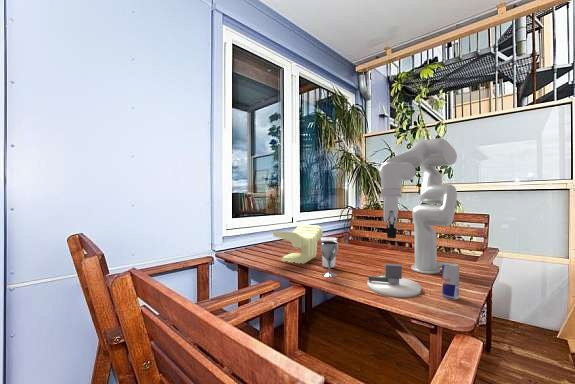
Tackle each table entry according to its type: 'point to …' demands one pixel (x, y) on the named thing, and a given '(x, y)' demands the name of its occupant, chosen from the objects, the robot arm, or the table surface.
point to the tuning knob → (390, 274)
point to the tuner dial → (395, 288)
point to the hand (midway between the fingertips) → (391, 236)
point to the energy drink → (450, 281)
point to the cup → (323, 256)
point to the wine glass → (329, 254)
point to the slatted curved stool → (302, 242)
